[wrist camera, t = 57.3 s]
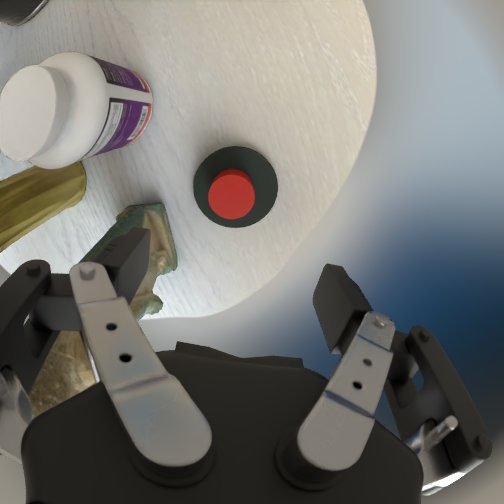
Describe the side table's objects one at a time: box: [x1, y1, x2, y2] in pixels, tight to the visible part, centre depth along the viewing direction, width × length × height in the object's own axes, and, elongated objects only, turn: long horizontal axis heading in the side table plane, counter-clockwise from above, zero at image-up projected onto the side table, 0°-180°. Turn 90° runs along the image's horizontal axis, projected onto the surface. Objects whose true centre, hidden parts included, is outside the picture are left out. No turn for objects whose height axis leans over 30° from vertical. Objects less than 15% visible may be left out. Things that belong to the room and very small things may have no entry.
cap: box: [208, 169, 255, 219], centre depth 24 cm, size 4×4×3 cm
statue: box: [29, 204, 178, 420], centre depth 17 cm, size 7×8×25 cm
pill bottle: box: [0, 52, 153, 169], centre depth 16 cm, size 8×8×14 cm
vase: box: [0, 161, 86, 253], centre depth 18 cm, size 6×6×14 cm
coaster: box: [194, 146, 278, 228], centre depth 26 cm, size 8×8×1 cm
